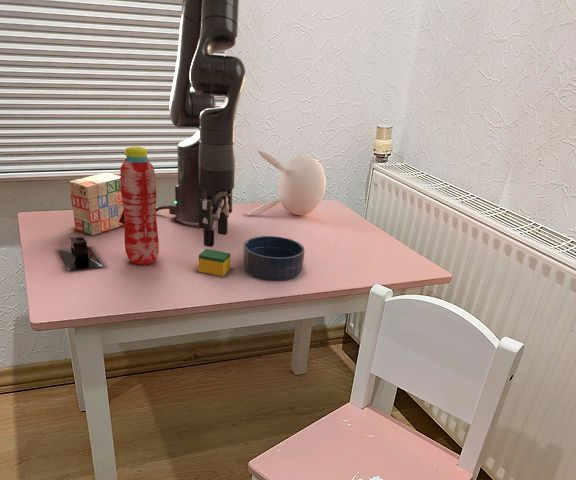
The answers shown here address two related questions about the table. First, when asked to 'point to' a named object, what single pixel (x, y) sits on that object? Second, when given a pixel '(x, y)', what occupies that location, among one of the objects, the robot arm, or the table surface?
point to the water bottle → (139, 207)
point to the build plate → (80, 255)
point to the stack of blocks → (97, 203)
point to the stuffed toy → (297, 185)
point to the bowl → (273, 258)
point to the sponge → (214, 262)
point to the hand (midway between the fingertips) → (215, 240)
